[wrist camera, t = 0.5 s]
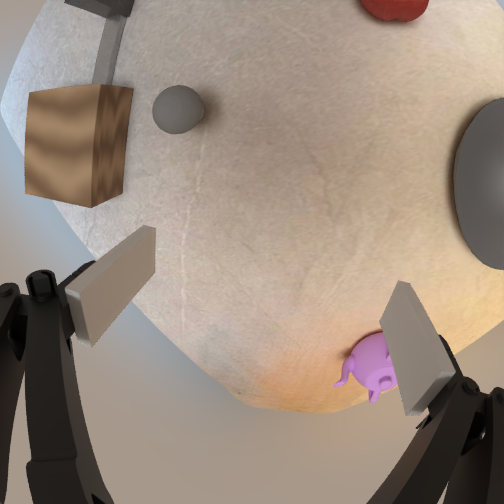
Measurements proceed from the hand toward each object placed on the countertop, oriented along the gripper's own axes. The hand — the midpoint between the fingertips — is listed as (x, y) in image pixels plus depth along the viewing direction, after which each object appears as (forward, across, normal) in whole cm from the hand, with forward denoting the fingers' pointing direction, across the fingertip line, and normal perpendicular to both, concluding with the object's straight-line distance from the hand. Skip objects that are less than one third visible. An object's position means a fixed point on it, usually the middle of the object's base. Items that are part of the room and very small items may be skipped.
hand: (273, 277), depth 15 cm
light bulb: (+27, -14, +8) cm, 31 cm away
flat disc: (+27, +36, +11) cm, 46 cm away
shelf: (+27, -33, +2) cm, 43 cm away
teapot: (+27, +23, -26) cm, 44 cm away
